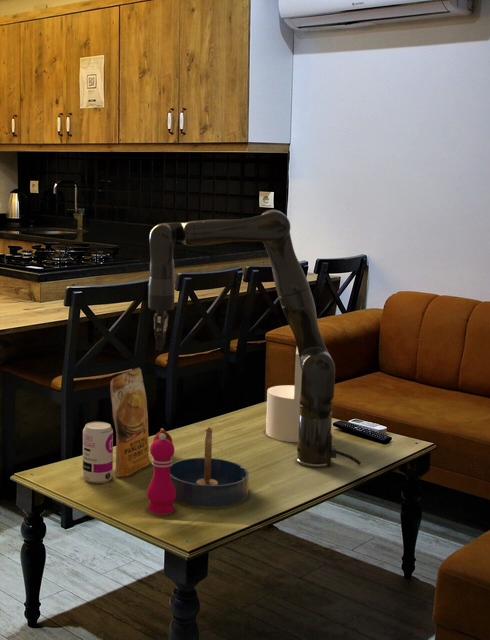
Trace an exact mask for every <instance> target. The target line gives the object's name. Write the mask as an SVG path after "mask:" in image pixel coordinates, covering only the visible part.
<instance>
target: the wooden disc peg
mask: <svg viewBox="0 0 490 640" xmlns="http://www.w3.org/2000/svg"><path fill="white" fill-rule="evenodd" d="M212 446H213V429H212V427H209V426H208V427H206V428H205V429H204V458H205V459H204V479H199V480H197V484H201V485H218V482H217V481H216V480H213V479H211V458H213V457H212V454H213V452H212V450H213V447H212Z"/></svg>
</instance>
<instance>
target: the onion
mask: <svg viewBox="0 0 490 640" xmlns="http://www.w3.org/2000/svg"><path fill="white" fill-rule="evenodd" d="M161 433H164V434H165V435H166V439H167V440H169V441H171V442H172V444H174V443H173V437H172V436H171V435H170V433H168V432H167V431H166V430H165V428H160V431H158V432H157V433H156V434H155V435H154V436H153V439H152V443H153V442H154V441H155V440H157V439H159V435H160V434H161Z"/></svg>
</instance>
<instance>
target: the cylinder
mask: <svg viewBox="0 0 490 640" xmlns="http://www.w3.org/2000/svg"><path fill="white" fill-rule="evenodd" d="M294 365H295V367H294V384H293V385H292V384H290V385H289V384H286V385H285V384H284V385H282V384H281V385H274V386H271V387H269V388H267V390H266V417H265V418H266V419H265V434H266V435H267V436H268V437H270V438H271V439H274V440H278V441H280V442H281V441H282V442H287V443H298V432H299V407H300V394H301V380H302V369H301V365H300V358H299V353H298V348H297V347H296V349H295V364H294Z"/></svg>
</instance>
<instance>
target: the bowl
mask: <svg viewBox="0 0 490 640" xmlns="http://www.w3.org/2000/svg"><path fill="white" fill-rule="evenodd" d="M204 459H205V457H192V458H191V457H190V458H184V459H180V460H177V461H174V462H172V465H171V466H170V477H171V480H172V482H173V485H174V487H175V490H176V498H175V500H176V501H178V502H180V503H184V504H186V505H187V504H188V505H191V506H197V507H206V508H207V507H209V508H219V507H228V506H233V505H236V504H240V503H241V502H243V501H245V500H246V499H247V498H248V496H249V480H250V479H249V478H250V477H249V476H250V475H249V472H250V471H248V469H247V468H246V467H245V466H243V465H241V464H239V463H237V462H233V461H230V460H226V459H223V458H222V459H221V458H214V457H211V479H213V480H216V481H217V482H218V485H201V484H197V480H199V479H204Z"/></svg>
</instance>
